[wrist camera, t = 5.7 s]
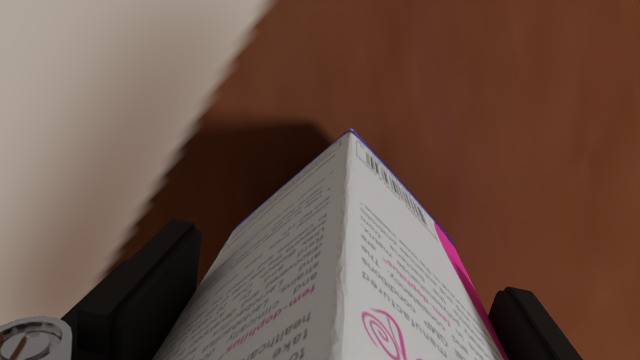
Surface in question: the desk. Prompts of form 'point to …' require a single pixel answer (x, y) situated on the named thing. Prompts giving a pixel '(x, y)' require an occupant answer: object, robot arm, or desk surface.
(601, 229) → the desk surface
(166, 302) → the robot arm
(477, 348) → the supplement box
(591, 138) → the desk surface
